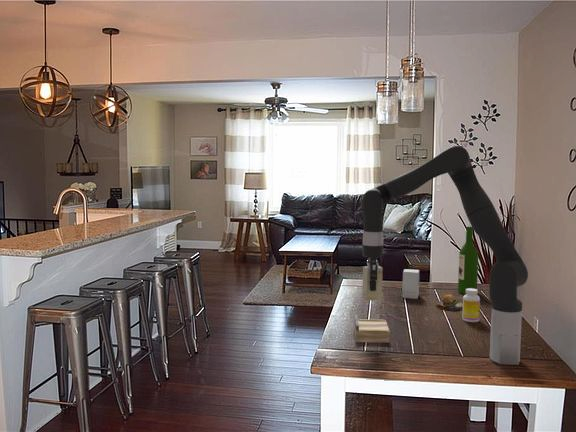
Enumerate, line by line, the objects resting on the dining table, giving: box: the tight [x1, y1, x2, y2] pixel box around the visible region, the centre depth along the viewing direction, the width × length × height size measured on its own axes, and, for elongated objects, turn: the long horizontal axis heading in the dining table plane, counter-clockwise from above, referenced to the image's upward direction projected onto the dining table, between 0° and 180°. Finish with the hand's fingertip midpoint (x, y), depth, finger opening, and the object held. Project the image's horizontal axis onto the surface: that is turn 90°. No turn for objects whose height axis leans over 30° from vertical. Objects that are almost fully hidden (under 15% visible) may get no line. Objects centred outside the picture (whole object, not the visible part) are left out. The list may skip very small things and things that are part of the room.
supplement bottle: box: [461, 288, 481, 323], centre depth 223 cm, size 7×7×13 cm
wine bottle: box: [457, 226, 479, 295], centre depth 268 cm, size 9×9×32 cm
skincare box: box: [361, 265, 384, 301], centre depth 202 cm, size 6×4×12 cm
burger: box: [436, 292, 463, 312], centre depth 244 cm, size 12×12×8 cm
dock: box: [353, 314, 391, 344], centre depth 204 cm, size 14×12×6 cm
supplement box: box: [401, 268, 420, 300], centre depth 262 cm, size 7×7×13 cm
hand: (372, 288), depth 203 cm, fingers closed on skincare box, 5 cm apart
